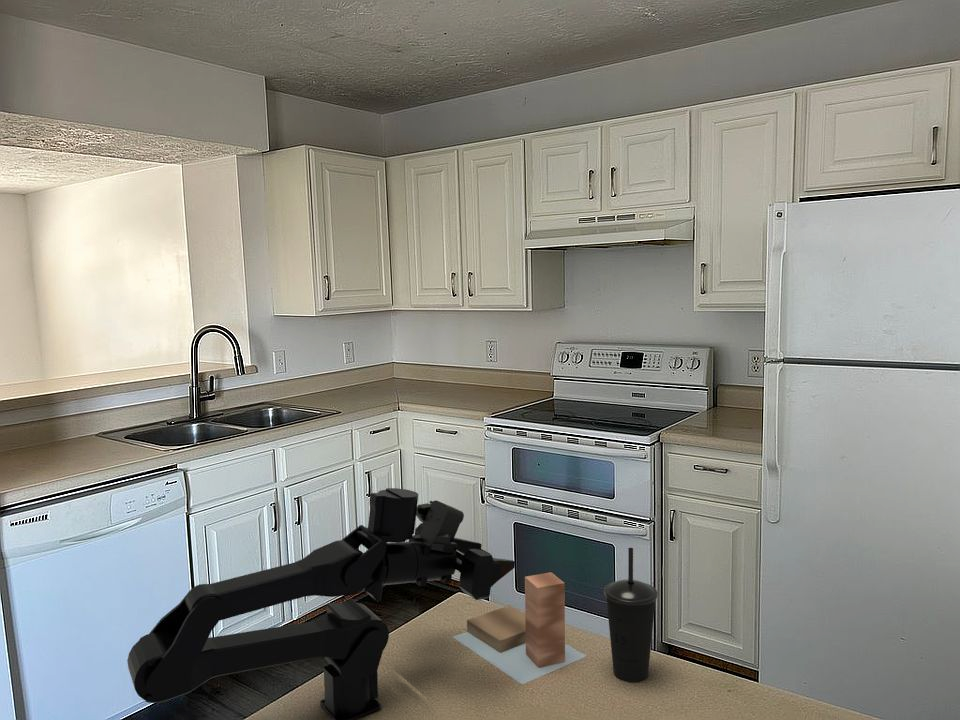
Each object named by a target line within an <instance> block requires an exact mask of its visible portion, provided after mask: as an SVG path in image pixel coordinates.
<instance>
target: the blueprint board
mask: <svg viewBox="0 0 960 720" xmlns="http://www.w3.org/2000/svg"><path fill="white" fill-rule="evenodd" d="M452 639H454V640H456V641H457V642H458V643H460V644H462V645H463V646H465V647H466V648H467V649H469V651H470V650H471V651H472V652H473V653H475V654H476V655H478V656H479V657H481V658H482V659H484V660H485V661H486V662H488V663H490V664H491V665H492V666H494V667H495V668H497V669H498V670H500V671H502V672H503V673H505V674H506V675H507V676H509V677H510V678H511V679H513V680H515V681H516V682H517V683H519V684H520V685H524V684H526V683H529V682H531V681H532V682H533V680H536V679H538V678H541V677H543V676H545V675H547V674H550V673H552V672H554V671H556V670H559V669H561V668H564V667H566V666H568V665H570V664H573V663H575V662H577V661H580V660H582V659H584V658H586V657H588V656H587V655H586V654H584V653H583V652H581V651H579V650H577V649H575V648H574V647H572V646H570V645H569V644H568V643H565V662H563V663H559V664H554V665H550V666H546V667H541V668H538V667H537V666H536V665H535V664H534V663H533V662H532V660H531V659H530V658H529V657H528V656H527V655H526V643H524V644H522V645H519V646H517V647H514V648H512V649H509V650H507V651H504V652H502V653H499V652H498V651H496V650H495V649H493V648H492V647H490V646H489V645H487V644H486V643H484V642H483V641H481V640H479V639H478V638H476V637H475V636H473V635H472V634H470V633H469V632H467V631H465V632H463V633H460V634H456V635H454V636H452Z"/></svg>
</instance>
